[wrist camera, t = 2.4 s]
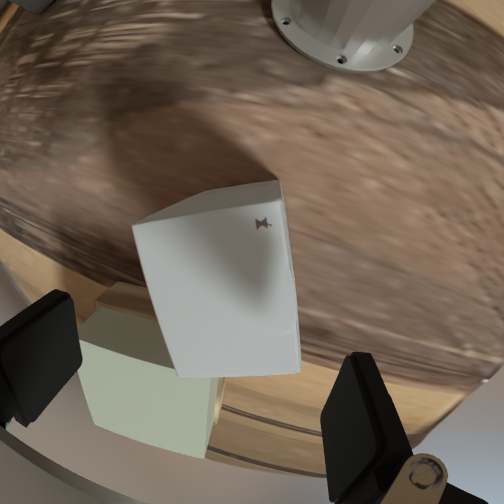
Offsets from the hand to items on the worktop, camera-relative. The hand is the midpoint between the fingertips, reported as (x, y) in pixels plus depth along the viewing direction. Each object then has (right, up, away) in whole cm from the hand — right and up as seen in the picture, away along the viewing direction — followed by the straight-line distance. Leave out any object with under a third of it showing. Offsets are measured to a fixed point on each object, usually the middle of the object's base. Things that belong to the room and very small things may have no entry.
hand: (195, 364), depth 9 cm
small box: (+2, +5, +16) cm, 17 cm away
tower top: (-7, -7, +15) cm, 18 cm away
